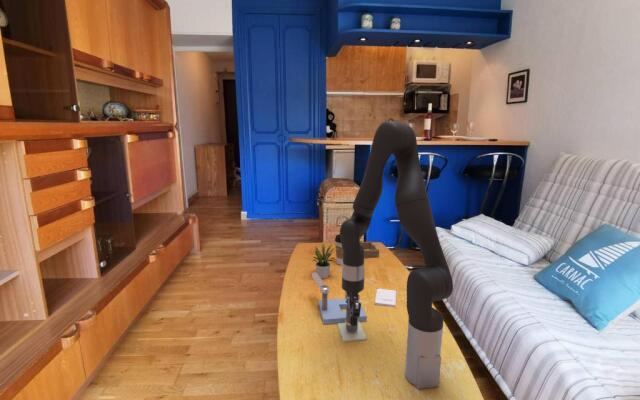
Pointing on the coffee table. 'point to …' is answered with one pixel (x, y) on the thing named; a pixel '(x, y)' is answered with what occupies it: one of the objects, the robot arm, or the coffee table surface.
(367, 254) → the coaster tray
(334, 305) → the plate
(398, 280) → the coffee table surface
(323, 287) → the clip
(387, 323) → the coffee table surface
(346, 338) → the pad
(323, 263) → the house plant
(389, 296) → the external hard drive
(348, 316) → the plug
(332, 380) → the coffee table surface
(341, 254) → the coffee cup
